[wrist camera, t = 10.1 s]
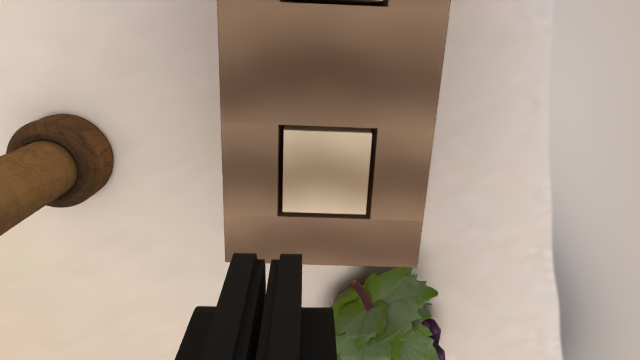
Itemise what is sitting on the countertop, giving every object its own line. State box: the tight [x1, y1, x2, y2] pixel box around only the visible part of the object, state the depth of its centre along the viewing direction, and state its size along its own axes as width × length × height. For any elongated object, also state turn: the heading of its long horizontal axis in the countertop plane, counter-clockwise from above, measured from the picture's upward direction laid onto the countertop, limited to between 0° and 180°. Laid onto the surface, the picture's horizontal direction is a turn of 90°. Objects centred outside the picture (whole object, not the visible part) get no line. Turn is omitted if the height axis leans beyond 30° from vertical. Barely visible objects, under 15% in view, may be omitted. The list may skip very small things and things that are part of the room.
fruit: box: [330, 267, 445, 360], centre depth 35 cm, size 10×11×15 cm
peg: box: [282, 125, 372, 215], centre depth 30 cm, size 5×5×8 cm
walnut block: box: [217, 0, 451, 268], centre depth 28 cm, size 24×12×8 cm, turn 178°
